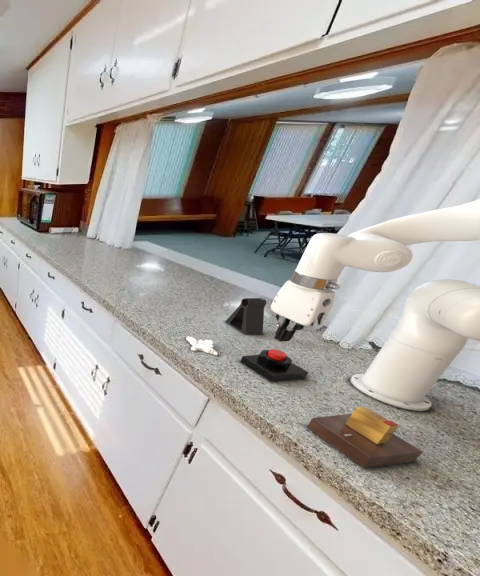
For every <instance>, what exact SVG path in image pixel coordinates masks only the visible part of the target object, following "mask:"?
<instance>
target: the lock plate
mask: <svg viewBox="0 0 480 576" xmlns="http://www.w3.org/2000/svg"><path fill="white" fill-rule="evenodd" d="M351 415H352V413H345V414H337V415H326V416H319V417H318V416H316V417H312V418H311V419H310V421H309V422H308V424H307V426H306V428H307V429H309V430H310V431H311V432H313V433H314V434H315V435H317V436H318V437H320V438H321V439H323V440H324V441H325V442H327V443H328V444H330V446H332V447H333V448H335V449H337V451H339V452H341V453H342V454H344V456H347V457H348V458H349V459H351V460H352V461H353V462H355V463H356V464H357V465H359V466H360V467H362V468H363V469H366V468H375V467H381V466H382V467H384V466H391V465H399V464H405V463H407V464H408V463H414V462H416V461H417V460H418V459H419V458H420V456H421V455H423V453H424V451H423V450H421V449H420V448H418V447H417V446H415V445H413V444H411V443H409V442H408V441H406V440H404V439H403V438H402V437H399V436H398V435H396V434H394V433H393V434H392V436H391V437H390V438H389V439H388V441H387V442H386V443H385V444H376V443H374V442H373V441H371V440H369V439H368V438H366V437H365V436H363V435H362V434H360V433H359V432H357V431H355V430H354V429H352V428H351V427H349V426H348V425H346V422H347V421H348V419H349V418H350V416H351Z"/></svg>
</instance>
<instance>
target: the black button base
mask: <svg viewBox="0 0 480 576" xmlns="http://www.w3.org/2000/svg"><path fill="white" fill-rule="evenodd" d="M269 350H270V349H262V350H261V352H260V353H259V354H251V355H250V354H249V355H242V357H241V359H240V363H241V364H243V365H244V366H246V367H247V368H248V369H250V370H252V371H254V373H257V374H258V375H260V377H263V378H264V379H266V380H267V381H269V382H280V381H281V382H282V381H291V380H304V379H306V378H307V376H308V374H309V371H307V370H305V369H303V368H302V367H300V366H298V365H297V364H295V363H293V360H292V358H291V357H289V356H288V355H287V356H286V358H285V360H284V361H279V360H275V359H273V358H271V357H269V356H268V352H269Z"/></svg>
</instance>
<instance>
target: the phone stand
mask: <svg viewBox="0 0 480 576" xmlns="http://www.w3.org/2000/svg"><path fill="white" fill-rule="evenodd" d="M266 305H267V300H266V299H265V298H264V299H263V297H246V298H245V297H244V298H242V299H241V301H240V304H239V305H238V307H236V309H234V311H233V312H232V314H230V315H229V317H228V318H227V319H226V320H225V323H226V324H228V325H230V326H231V327H232V328H234V329H236V330H237V331H238V332H241V333H242V334H244V335H263V334H264V316H265V307H266Z"/></svg>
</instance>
